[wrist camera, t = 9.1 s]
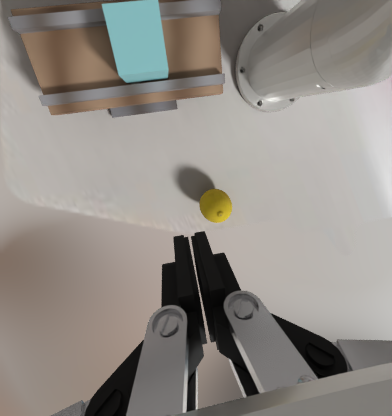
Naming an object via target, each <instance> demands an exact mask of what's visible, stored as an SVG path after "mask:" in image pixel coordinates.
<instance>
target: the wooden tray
mask: <svg viewBox="0 0 392 416" xmlns="http://www.w3.org/2000/svg"><path fill="white" fill-rule="evenodd" d="M129 1H141V0H115V1H103V2H92V3H80V4H69V5H57V6H46V7H34V8H23V9H12V10H11V12H12V15H13V16H11V17H8V20H9V22H10V25H11V27H12V30H14V31H16V32H18V33H19V34H20V35H21V38H22V41H23V43H24V46H25V48H26V51H27V53H28V56H29V59H30V61H31V64H32V66H33V69H34V72H35V74H36V77H37V79H38V82H39V85H40V87H41V90H42V92H43V95H41V96H39V98H40V101H41V103H42V106H48V108H49V110H50V113H51V115H62V114H70V113H78V112H86V111H94V110H101V109H109V108H110V111H111V114H112V118H114V117H121V116H129V115H136V114H144V113H152V112H159V111H167V110H174V109H177V103H176V100H179V99H187V98H195V97H203V96H210V95H218V94H222V93H223V84H224V83H225V73H224V74H222V65H221V48H220V30H219V13H220V11H221V0H158V3H159V10H160V16H161V23H162V30H163V36H164V43H165V50H166V56H167V63H168V79H161V80H152V81H144V82H135V83H126V82H125V81H124V80H123V79H122V78H121V77H120V76H119V75H118V70H117V66H116V62H115V58H114V54H113V50H112V45H111V41H110V37H109V33H108V29H107V25H106V20H105V16H104V12H103V8H102V4H107V3H118V2H129Z"/></svg>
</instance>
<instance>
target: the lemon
mask: <svg viewBox="0 0 392 416" xmlns="http://www.w3.org/2000/svg"><path fill="white" fill-rule="evenodd" d="M200 210H201V213H202V214H203V216H204V217H205V218H206V219H208V220H209V221H211V222H215V223H219V222H223V221H225V220H226V219H227V218H228V217H229V216H230V214H231V211H232V203H231V200H230V198H229V196H228V195H227V194H226V193H225V192H223V191H222V190H219V189H211V190H208V191H206V192H205V193H204V194H203V195H202V197H201V199H200Z"/></svg>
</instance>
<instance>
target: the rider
mask: <svg viewBox="0 0 392 416" xmlns="http://www.w3.org/2000/svg"><path fill="white" fill-rule="evenodd" d="M102 8H103V12H104V16H105V20H106V25H107V29H108V33H109V37H110V41H111V45H112V50H113V54H114V58H115V62H116V66H117V70H118V75H119V76H120V77H121V78H122V79H123V80H124V81H125V82H126V83H135V82H144V81H152V80H161V79H168V63H167V56H166V50H165V43H164V36H163V30H162V23H161V16H160V10H159V3H158V0H141V1H129V2H118V3H107V4H102Z"/></svg>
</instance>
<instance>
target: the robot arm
mask: <svg viewBox="0 0 392 416" xmlns="http://www.w3.org/2000/svg"><path fill="white" fill-rule="evenodd" d="M257 28H258V29H259V31H258V29H257ZM240 70H242V73H240ZM391 76H392V0H301V1H300V2H299V3H298V4H296V5H295V6H294V7H293V8H292V9H291V10H290V11H288V12H278V13H274V14H270V15H268V16H266V17H264V18H262V19H261V20H260V21H259V22H257V23H256V24H255V25H254V26H253V27H252V28H251V29H250V31H249V32H248V33H247V35H246V36H245V37H244V39H243V41H242V43H241V45H240V48H239V51H238V54H237V60H236V80H237V85H238V88H239V91H240V93H241V95H242V96H243V98H244V99H245V100H246V102H247V103H248V104H249V105H251V106H252V107H253V108H255V109H257V110H260V111H264V112H274V111H280V110H283V109H285V108H287V107H289V106H291V105H292V104H293V103H295V102H296V101H297V100H298V99H299V98H300V97H305V96H311V95H317V94H324V93H330V92H336V91H343V90H349V89H354V88H360V87H365V86H369V85H373V84H376V83H379V82H381V81H384V80H386V79H388V78H390V77H391ZM289 99H290V100H289ZM257 102H258V103H259V104H258V105H257ZM191 239H192V246H193V252H194V258H195V265H196V271H197V277H198V282H199V287H200V292H201V297H202V301H203V307H204V311H205V316H206V321H207V326H208V331H209V335H210V340H211V342H215V341H216V345H217V350H219V352H220V353H221V354H223V355H224V356H226V357H227V358H229V362H230V365H231V368H232V370H233V372H234V375H235V377H236V380H237V382H238V384H239V387H240V389H241V392H242V394H243V396H244V398H240V399H237V400H233V401H229V402H225V403H221V404H217V405H213V406H209V407H205V408H201V409H198V369H197V366H198V365H199V363H200V361H201V360H202V358H203V356H204V354H203V347H202V344H206V343H207V340H206V334H205V328H204V321H203V315H202V309H201V302H200V297H199V290H198V285H197V280H196V275H195V270H194V265H193V260H192V255H191V250H190V245H189V240H188V237H185V238H184V236H183V235H181V236H175V237H174V250H175V262H172V263H167V264H163V265H162V307H161V308H160V309H158V310H157V311H156V312H155V313H153V315H152V316H151V318H150V320H149V322H148V325H147V330H146V334H145V338H144V340H143V341H142V342H141V343H140V344H139V345H138V346H137V347H136V349H135V350H134V351H133V352H132V353H131V354H130V355H129V356H128V357H127V358H126V360H125V361H124V362H123V363H122V364H121V365H120V366H119V367H118V368H117V369H116V371H115V372H114V373H113V374H112V375H111V376H110V378H108V379H107V381H106V382H105V383H104V384H103V385H102V386H101V387H100V388H99V389H98V390H97V392H96V393H95V394H94V396H93V397H92V398H91V399H90V400H89V401H87V402H85V403H84V402H83V401H82V400H81V401H79V402H77V403H75V404H73V405H71V406H69V407H67V408H65V409H63V410H61V411H59V412H57V413H55V414H53V415H51V416H392V341H382V340H339V339H338V340H337V342H334V343H333V342H330V341H328V340H326V339H325V338H323V337H321V336H319V335H316V334H314V333H312V332H310V331H308V330H306V329H303V328H302V327H299V326H297V325H295V324H293V323H291V322H289V321H286V320H284V319H282V318H280V317H278V316H276V315H273V314H271V313H270V312H269V311H268V310H267V308H266V307H265V306H264V304H263V303H262V302H261V300H260V299H259V298H258V297H257V296H256V295H254V294H253V293H251V292H248V291H241V289H240V287H239V285H238V282H237V280H236V278H235V276H234V273H233V271H232V269H231V267H230V264H229V262H228V260H227V258H226V255H225V254H224V253H219V254H213V253H212V251H211V248H210V245H209V242H208V239H207V236H206V234H205V231H203V232H197V233H195V236H191Z"/></svg>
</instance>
